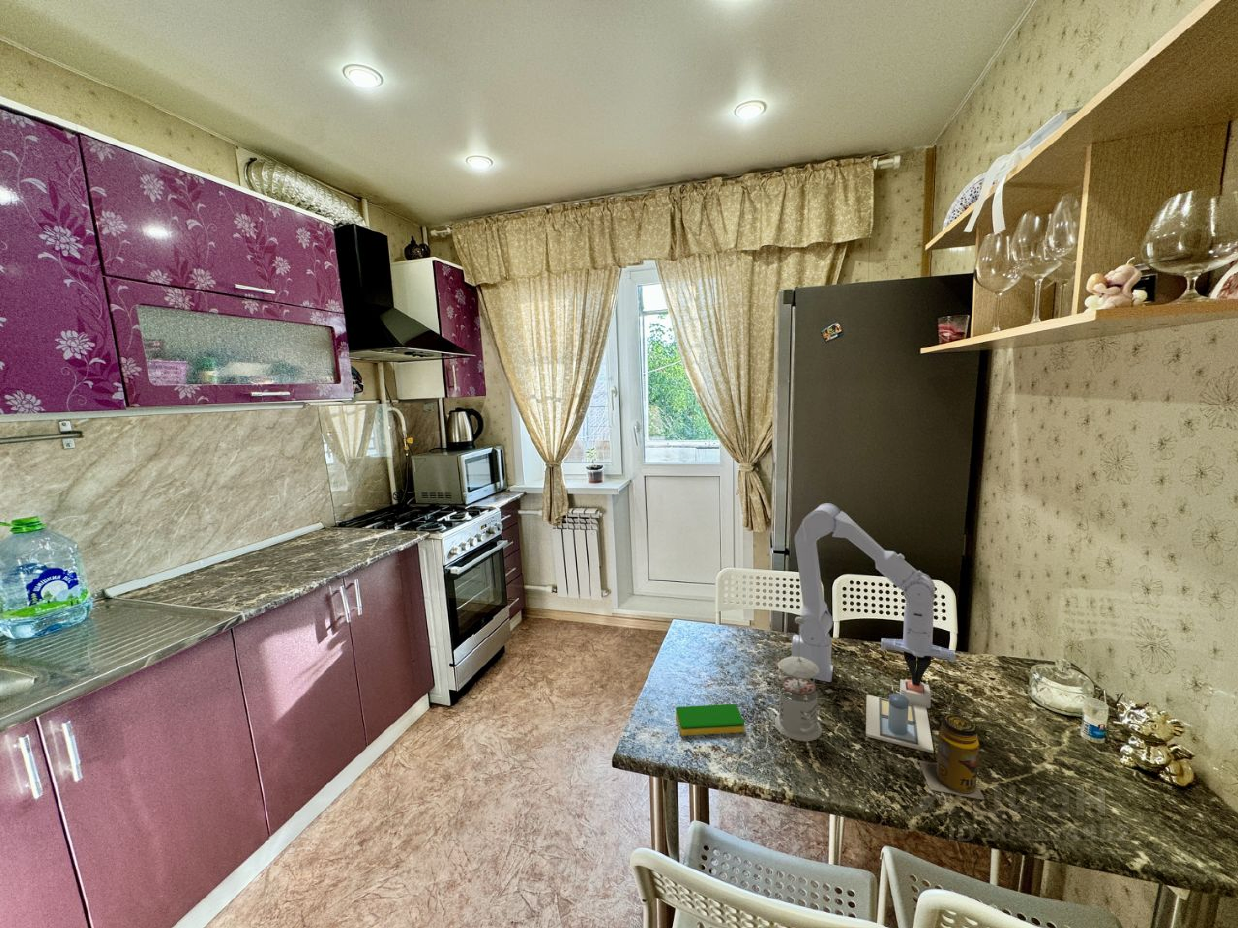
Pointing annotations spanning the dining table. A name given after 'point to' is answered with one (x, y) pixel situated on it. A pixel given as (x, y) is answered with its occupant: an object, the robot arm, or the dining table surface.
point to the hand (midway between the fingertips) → (915, 682)
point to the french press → (798, 698)
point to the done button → (915, 687)
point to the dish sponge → (709, 719)
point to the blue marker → (898, 714)
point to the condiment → (955, 758)
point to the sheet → (879, 730)
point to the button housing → (916, 694)
